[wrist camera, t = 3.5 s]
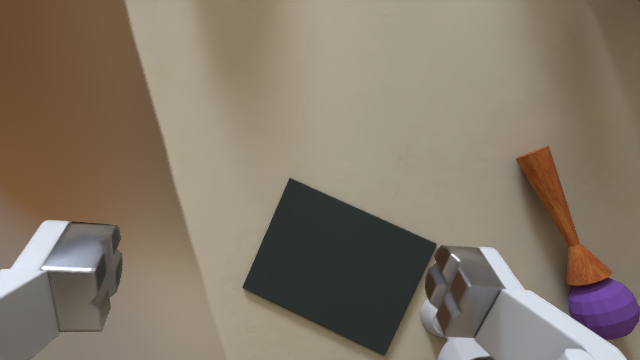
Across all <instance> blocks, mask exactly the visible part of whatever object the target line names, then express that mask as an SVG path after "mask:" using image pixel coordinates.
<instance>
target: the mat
mask: <svg viewBox="0 0 640 360" xmlns="http://www.w3.org/2000/svg"><path fill="white" fill-rule="evenodd" d="M435 247H436V243H433V242H431V241H429V240H427V239H425V238H422V237H420V236H418V235H416V234H413V233H411V232H409V231H407V230H404V229H402V228H400V227H398V226H396V225H393V224H391V223H389V222H387V221H384V220H382V219H380V218H378V217H376V216H373V215H371V214H369V213H367V212H364V211H362V210H360V209H358V208H355V207H353V206H351V205H349V204H347V203H344V202H342V201H340V200H338V199H335V198H333V197H331V196H329V195H326V194H324V193H322V192H320V191H318V190H315V189H313V188H311V187H309V186H306V185H304V184H302V183H300V182H298V181H295V180H293V179H291V178H290V179H289V181H288V183H287V186H286V188H285V190H284V193H283V195H282V197H281V200H280V202H279V204H278V206H277V209H276V211H275V213H274V216H273V218H272V220H271V223H270V225H269V227H268V230H267V232H266V234H265V237H264V239H263V241H262V244H261V246H260V248H259V251H258V253H257V255H256V258H255V260H254V262H253V264H252V267H251V269H250V271H249V274H248V276H247V278H246V281H245V283H244V285H243V288H245V289H247V290H249V291H251V292H253V293H255V294H257V295H259V296H261V297H263V298H265V299H267V300H270V301H272V302H274V303H276V304H278V305H280V306H282V307H284V308H286V309H288V310H290V311H293V312H295V313H297V314H299V315H301V316H303V317H305V318H307V319H309V320H311V321H313V322H316V323H318V324H320V325H322V326H324V327H326V328H328V329H330V330H332V331H334V332H336V333H339V334H341V335H343V336H345V337H347V338H349V339H351V340H353V341H355V342H357V343H359V344H362V345H364V346H366V347H368V348H370V349H372V350H374V351H376V352H378V353H380V354H382V355H385V353H386V351H387V349H388V347H389V345H390V343H391V341H392V339H393V336H394V334H395V332H396V330H397V328H398V326H399V324H400V321H401V319H402V317H403V315H404V313H405V311H406V309H407V307H408V304H409V302H410V300H411V298H412V296H413V294H414V292H415V289H416V287H417V285H418V283H419V281H420V279H421V277H422V275H423V272H424V270H425V268H426V266H427V264H428V262H429V260H430V257H431V255H432V253H433V251H434V249H435Z"/></svg>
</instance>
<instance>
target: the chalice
mask: <svg viewBox="0 0 640 360" xmlns="http://www.w3.org/2000/svg"><path fill="white" fill-rule="evenodd" d="M437 311H438V309H437V308H435V307H434V306H433V305H432V304H430V303H429V300H428V299H426V300H425V302H424V304H423V305H422V308H421V312H420V313H421V321H422V323H423V325H424V327H425V328H426V329H427V330H428V331H429V332H430V333H432V334H433V335H435V336H439V337H444V334H443V332H442V330H441V328H440V325H439V323H438V321H437V319H436V313H437ZM445 338H446V339H447V343H445V345H444V347H443V348H442V350H441V352H440V354H439V357H438V360H494V359H493V358H492V357H491V356H490V355H489V354H488V353H487V352H486V351H485V350H484V349H483V348H482V347H481V346H480V345H479V344H478V343H477V342H476V341H475V340H474V338H462V337H445Z"/></svg>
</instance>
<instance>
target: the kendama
mask: <svg viewBox="0 0 640 360" xmlns="http://www.w3.org/2000/svg"><path fill="white" fill-rule="evenodd" d="M516 160H517V162H518V163H519V165H520V167H521V168H522V170H523V172H524V173H525V175H526V177H527V178H528V180H529V182H530V183H531V185H532V187H533V188H534V190H535V192H536V193H537V195H538V197H539V198H540V200H541V202H542V203H543V205H544V207H545V208H546V210H547V212H548V213H549V215H550V217H551V218H552V220H553V222H554V223H555V225H556V227H557V228H558V230H559V232H560V233H561V235H562V237H563V238H564V240H565V242H566V243H567V245H568V261H567V280H566V281H567V284H569V285H575V286H574V287H573V289H572V291H571V292H570V294H569V312H570V314H571V316H572V318H573V319H574V320H576V321H577V322H579V323H581V324H582V325H584V326H585V327H587V328H588V329H590V330H591V331H593V332H594V333H596V334H597V335H599V336H600V337H602V338H603V339H616V338H621V337H624V336H626V335H628V334H630V333H631V332H632V330H633V329H634V327H635V326H636V325H637V323H638V321H639V314H640V308H639V306H638V304H637V302H636V299H635V297H634V295H633V293H632V292H631V291H630V290H629V289H628V288H626V287H625V286H624V285H623V284H622V283H619V282H617V281H614V280H612V279H610V278H607V277H609V276H610V275H611V274H612V271H611V270H610V269H609V268H608V267H607V266H606V265H605V264H603V263H602V262H601V261H600V260H599V259H598V258H596V257H595V256H594V255H593V254H592V253H591V252H590V251H588V250H587V249H586V248H585V247H584V246H583V245H581V244H580V243H579V239H578V236H577V233H576V230H575V227H574V224H573V221H572V217H571V214H570V211H569V208H568V205H567V202H566V199H565V196H564V192H563V189H562V186H561V183H560V180H559V177H558V174H557V171H556V167H555V164H554V161H553V158H552V155H551V152H550V149H549V146H547V147H544V148H541V149H538V150H535V151H533V152H530V153H528V154H525V155H523V156H520V157H518V158H516Z"/></svg>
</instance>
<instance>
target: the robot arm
mask: <svg viewBox="0 0 640 360" xmlns="http://www.w3.org/2000/svg"><path fill="white" fill-rule="evenodd" d="M120 240H121V236H120V228H119V227H118V226H117V225H109V224H97V223H85V222H73V221H72V222H69V221H56V220H47V221H45V222H43V223H42V224H41V225H40V227H39V228H38V230H37V231H36V233H35V234H34V235H33V237H32V238H31V240H30V241H29V243H28V244H27V245H26V247H25V248H24V250H23V252H22V253H21V254H20V256H19V257H18V258H17V260H16V261H15V263H14V264H13V266H12V267H11V268H10V269H2V270H0V360H30V359H32V358H33V357H34V356H35V355H36V354H37V353H38V352H40V351H41V350H42V349H43V348H44V347H45V346H46V345H48V344H49V343H50V342H51V341H52V340H53V339H55V338H56V337H57V336H58V335H59V332H102V329H103V327H104V324H105V322H106V319H107V316H108V314H109V311H110V308H111V306H110V297H111V296H112V295H114V294H115V293H116V292H117V289H118V286H119V283H120V278H121V273H122V253H121V252H120V251H119V250H118V249H117V247H118V245H119V242H120ZM434 257H435V260H436V262H437V263H436V264H434V265H433V266H432V267H430V268H429V270H428V272H427V275H426V278H425V290H426V295H427V298H428V300H429V303H430V304H432V305H433V306H434V307H435V308H437V309H438V311H437V313H436V319H437V321H438V323H439V325H440V328H441V330H442V332H443V334H444V337H462V338H474V340H475V341H476V342H477V343H478V344H479V345H480V346H481V347H482V348H483V349H484V350H485V351H486V352H487V353H488V354H489V355H490V356H491V357H492V358H493V359H494V360H627V359H626V357H625V356H624V355H623V354H622V352H621V351H620V350H619V349H618V348H617V347H615V346H614V345H612V344H611V343H609V342H608V341H606V340H605V339H603V338H602V337H600V336H599V335H597V334H596V333H594V332H593V331H591V330H590V329H588V328H587V327H585V326H584V325H582V324H581V323H579V322H577V321H576V320H574V319H573V318H571V317H570V316H568V315H567V314H565V313H564V312H562V311H561V310H559V309H558V308H556V307H555V306H553V305H552V304H550V303H549V302H547V301H546V300H544V299H543V298H541V297H539V296H538V295H536V294H535V293H533V292H532V291H530V290H525V289H524V288H523V286H522V285H521V284H520V282H519V281H518V279H517V278H516V277H515V275H514V274H513V272H512V271H511V270H510V268H509V267H508V265H507V264H506V262H505V261H504V260H503V258H502V257H501V255H500V254H499V253H498V251H497V250H496V249H494V248H492V247H463V246H445V245H441V246H440V247H439V248H438V249H437V251H436V253H435V255H434Z"/></svg>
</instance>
